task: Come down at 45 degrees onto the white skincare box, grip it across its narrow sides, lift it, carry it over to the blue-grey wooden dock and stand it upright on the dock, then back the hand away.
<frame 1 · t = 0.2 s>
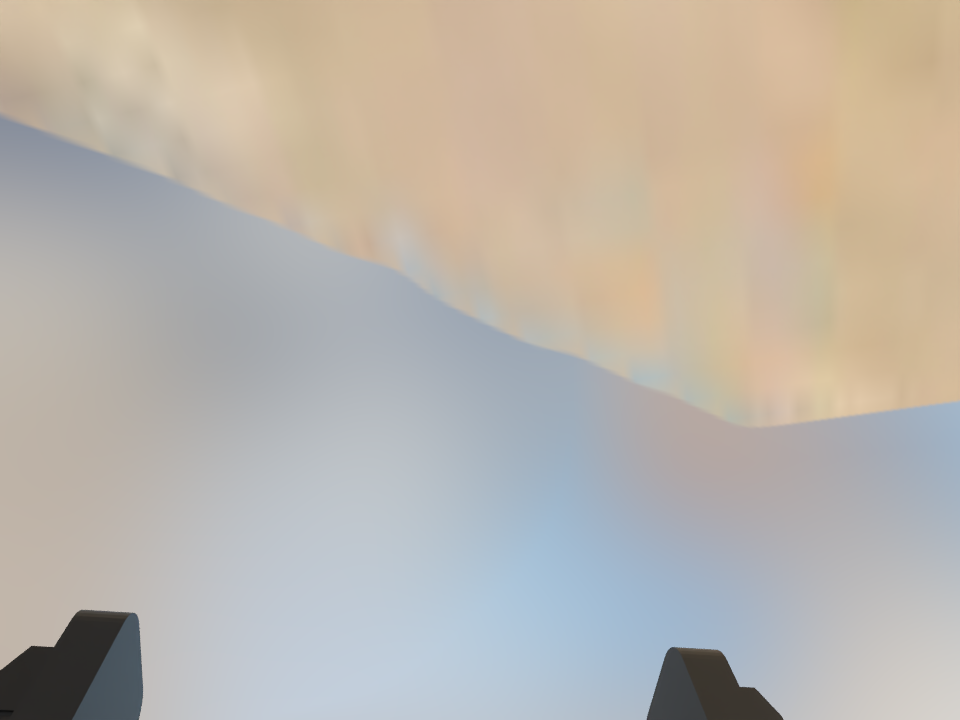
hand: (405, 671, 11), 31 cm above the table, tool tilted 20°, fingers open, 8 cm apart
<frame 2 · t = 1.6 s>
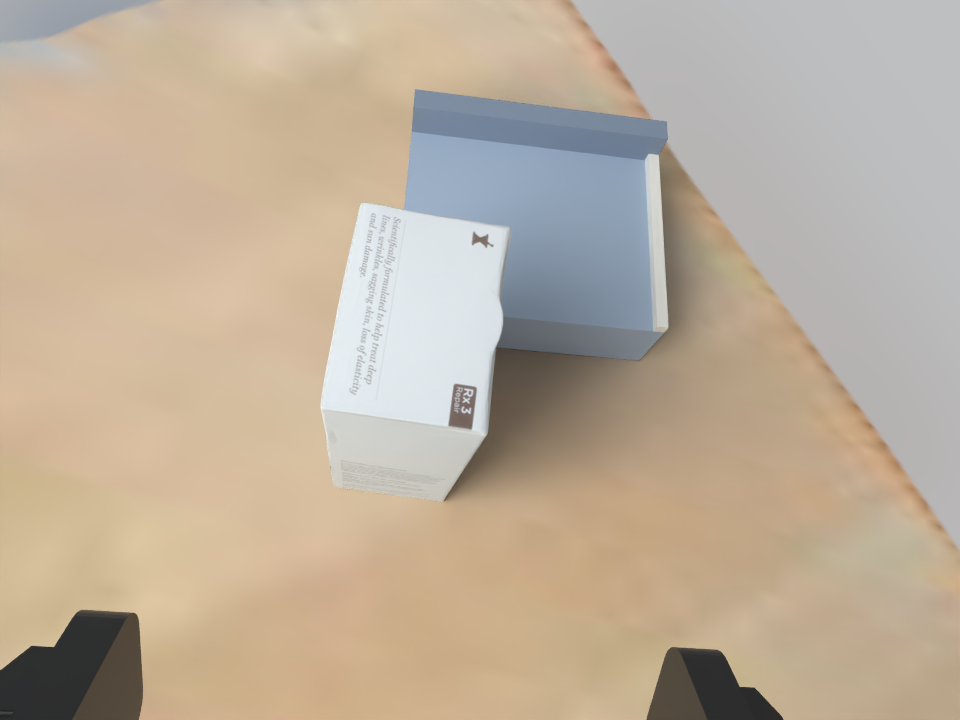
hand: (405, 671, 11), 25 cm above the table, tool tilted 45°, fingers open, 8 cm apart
skincare box: (403, 427, 39), on the table
dock: (520, 256, 44), on the table
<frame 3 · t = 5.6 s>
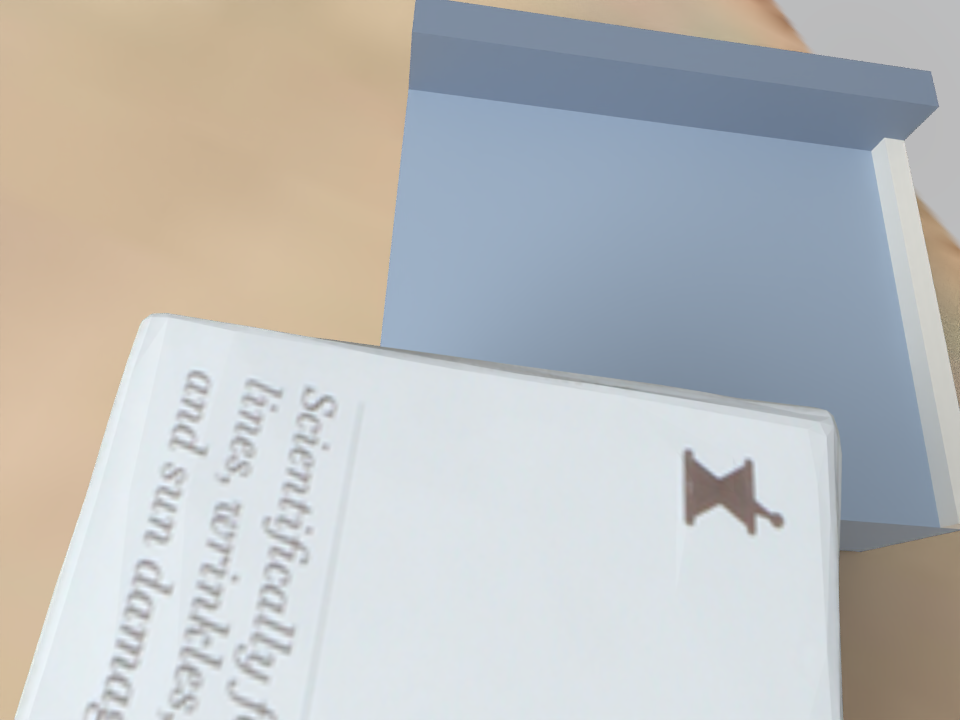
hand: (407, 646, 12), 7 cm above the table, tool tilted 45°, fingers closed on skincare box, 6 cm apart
dock: (618, 335, 23), on the table
when the fingers open (13 cm above the table, at t = 9.9 s): skincare box drops 1 cm, resting on dock.
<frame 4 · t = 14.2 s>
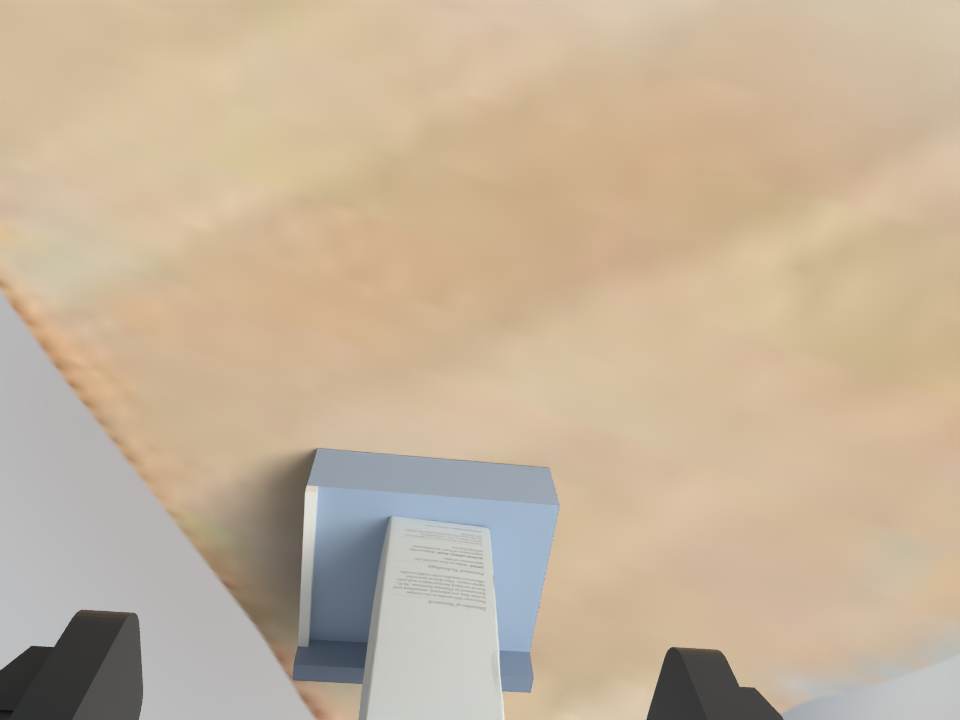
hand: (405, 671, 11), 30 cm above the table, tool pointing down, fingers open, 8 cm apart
skincare box: (427, 570, 43), point 4 cm above the table, touching dock
dock: (425, 540, 47), on the table
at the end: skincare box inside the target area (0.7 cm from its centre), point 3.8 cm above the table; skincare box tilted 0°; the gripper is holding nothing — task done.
